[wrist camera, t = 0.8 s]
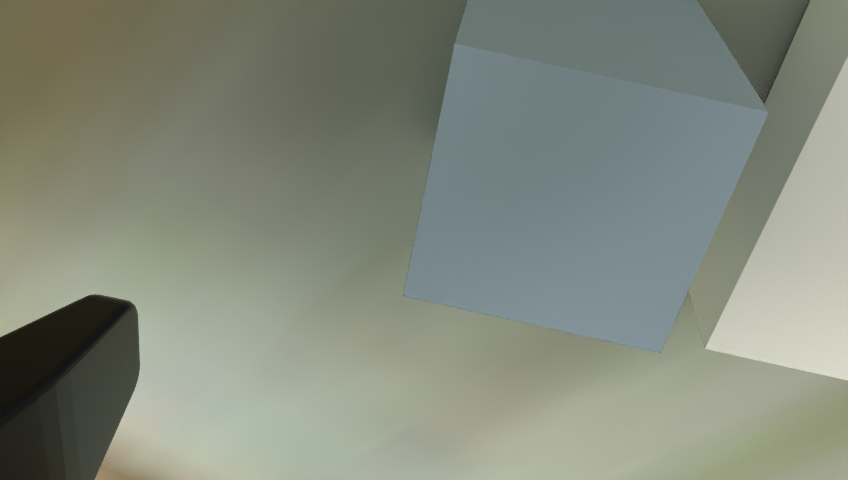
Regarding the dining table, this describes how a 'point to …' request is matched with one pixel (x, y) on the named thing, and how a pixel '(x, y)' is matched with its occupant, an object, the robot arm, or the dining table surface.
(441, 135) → the block
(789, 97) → the well
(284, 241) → the dining table surface
